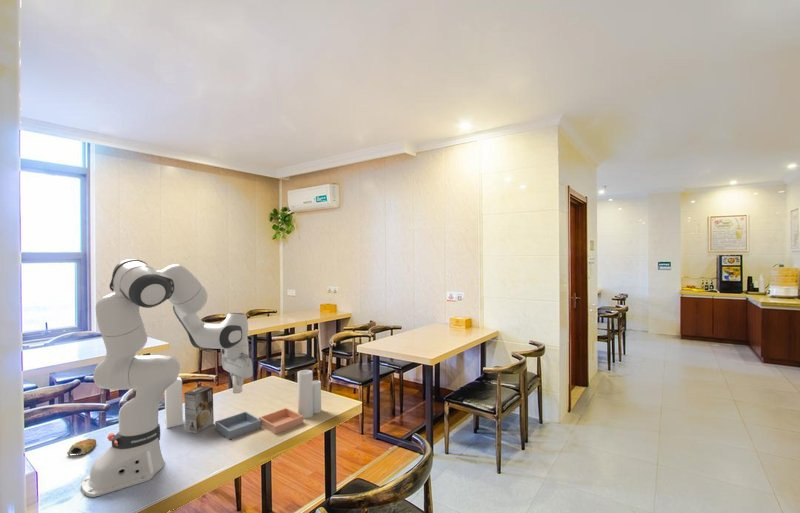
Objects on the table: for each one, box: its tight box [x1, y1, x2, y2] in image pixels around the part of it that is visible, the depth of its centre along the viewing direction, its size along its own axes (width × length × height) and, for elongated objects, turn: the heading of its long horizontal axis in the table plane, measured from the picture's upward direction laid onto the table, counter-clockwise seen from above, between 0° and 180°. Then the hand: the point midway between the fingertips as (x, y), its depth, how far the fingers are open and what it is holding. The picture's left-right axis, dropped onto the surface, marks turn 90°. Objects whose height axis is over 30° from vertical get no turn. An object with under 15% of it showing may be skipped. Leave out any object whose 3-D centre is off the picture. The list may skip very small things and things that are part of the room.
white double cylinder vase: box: [297, 369, 322, 420], centre depth 174 cm, size 11×7×20 cm, turn 151°
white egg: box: [232, 375, 243, 394], centre depth 160 cm, size 4×4×7 cm
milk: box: [164, 376, 184, 429], centre depth 166 cm, size 6×6×22 cm
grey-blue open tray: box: [214, 411, 262, 441], centre depth 160 cm, size 13×13×4 cm
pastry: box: [66, 438, 97, 456], centre depth 145 cm, size 9×7×4 cm
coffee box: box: [183, 385, 215, 434], centre depth 162 cm, size 9×6×16 cm
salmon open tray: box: [258, 407, 304, 435], centre depth 164 cm, size 13×13×4 cm
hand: (237, 384), depth 160 cm, fingers closed on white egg, 4 cm apart
